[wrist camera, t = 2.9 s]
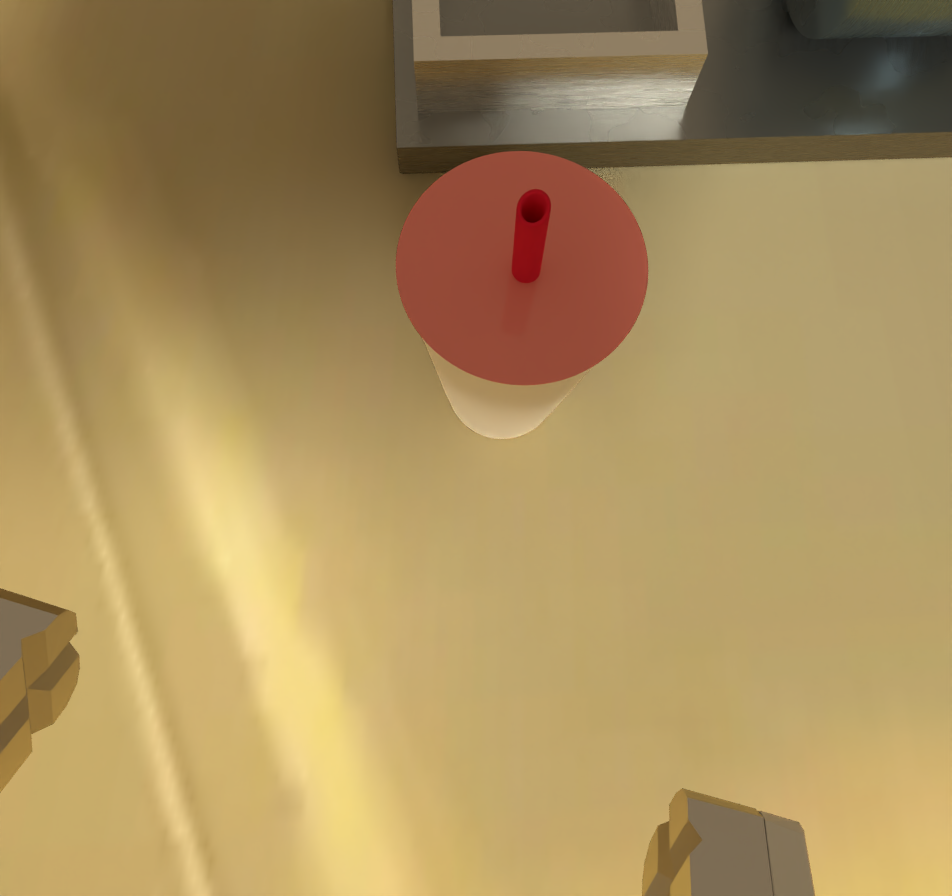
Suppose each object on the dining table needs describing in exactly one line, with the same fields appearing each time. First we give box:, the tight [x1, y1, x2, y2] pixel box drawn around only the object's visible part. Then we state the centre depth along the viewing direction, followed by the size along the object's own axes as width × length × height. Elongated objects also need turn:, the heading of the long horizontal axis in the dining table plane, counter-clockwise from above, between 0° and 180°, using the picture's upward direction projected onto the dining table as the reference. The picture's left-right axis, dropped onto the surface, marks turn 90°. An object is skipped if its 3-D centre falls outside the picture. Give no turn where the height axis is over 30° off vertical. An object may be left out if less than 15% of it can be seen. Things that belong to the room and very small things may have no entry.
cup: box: [396, 151, 648, 439], centre depth 21 cm, size 5×5×12 cm
